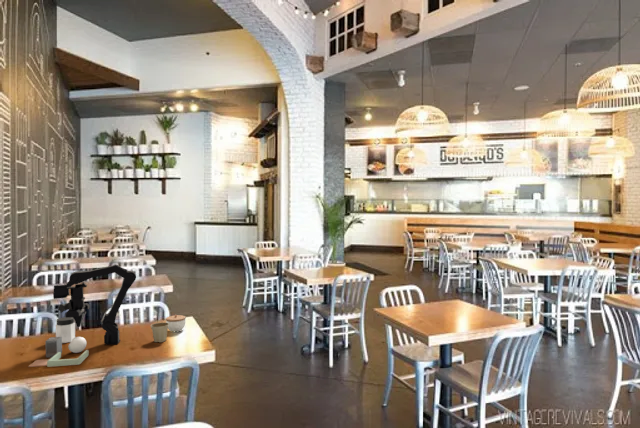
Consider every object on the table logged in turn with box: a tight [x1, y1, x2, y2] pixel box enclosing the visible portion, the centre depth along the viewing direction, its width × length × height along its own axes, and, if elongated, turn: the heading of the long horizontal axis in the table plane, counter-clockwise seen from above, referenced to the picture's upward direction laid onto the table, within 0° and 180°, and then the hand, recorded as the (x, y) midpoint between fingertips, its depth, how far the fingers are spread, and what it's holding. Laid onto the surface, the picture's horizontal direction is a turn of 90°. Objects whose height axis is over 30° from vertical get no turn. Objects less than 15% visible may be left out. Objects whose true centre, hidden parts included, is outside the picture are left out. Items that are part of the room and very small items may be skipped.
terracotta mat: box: [28, 358, 50, 368], centre depth 204 cm, size 8×8×1 cm
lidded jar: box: [165, 314, 186, 333], centre depth 256 cm, size 11×11×9 cm
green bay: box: [47, 349, 90, 368], centre depth 207 cm, size 13×13×2 cm
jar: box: [55, 316, 76, 344], centre depth 238 cm, size 9×8×12 cm
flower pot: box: [150, 322, 169, 343], centre depth 237 cm, size 9×9×9 cm
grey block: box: [44, 336, 63, 359], centre depth 215 cm, size 5×6×8 cm
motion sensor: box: [67, 336, 87, 354], centre depth 219 cm, size 8×8×8 cm
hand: (78, 326), depth 226 cm, fingers closed
